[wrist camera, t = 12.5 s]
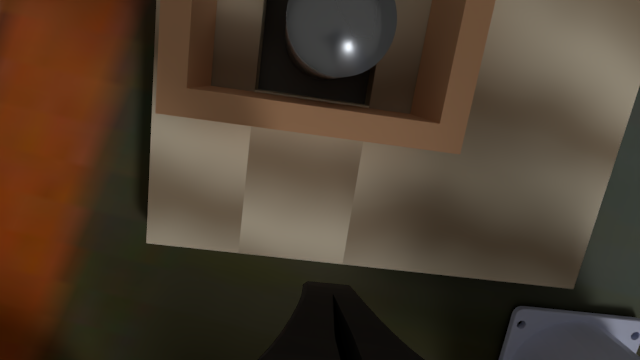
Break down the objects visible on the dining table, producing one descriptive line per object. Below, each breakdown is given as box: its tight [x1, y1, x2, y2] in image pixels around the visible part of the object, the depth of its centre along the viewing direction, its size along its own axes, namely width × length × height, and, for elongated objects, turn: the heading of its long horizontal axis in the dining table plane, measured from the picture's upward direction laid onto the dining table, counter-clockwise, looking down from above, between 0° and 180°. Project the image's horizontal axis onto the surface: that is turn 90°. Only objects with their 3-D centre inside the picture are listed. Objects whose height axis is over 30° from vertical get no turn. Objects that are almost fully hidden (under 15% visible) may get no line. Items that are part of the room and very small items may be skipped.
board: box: [146, 0, 640, 289], centre depth 19 cm, size 16×22×2 cm
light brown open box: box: [155, 0, 496, 154], centre depth 15 cm, size 8×11×4 cm
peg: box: [285, 0, 397, 80], centre depth 16 cm, size 4×4×6 cm
